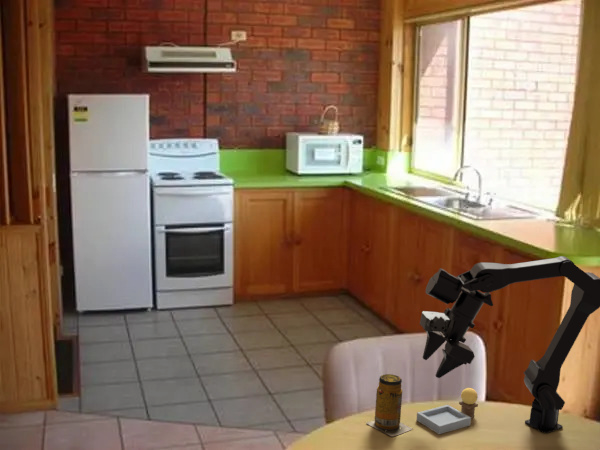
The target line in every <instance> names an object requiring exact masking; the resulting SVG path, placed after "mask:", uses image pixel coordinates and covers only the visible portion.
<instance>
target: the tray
mask: <svg viewBox="0 0 600 450" xmlns="http://www.w3.org/2000/svg"><path fill="white" fill-rule="evenodd" d="M471 420H472V418H471V417H469V416H467V415H466V414H464V413H462V412H461V411H460V410H458V409H456V408H455V407H453V406H451V405H450V404H445V405H440V406H437V407H433V408H430V409H425V410H422V411H419V412H416V421H417V422H419V423H420V424H422V425H423V426H426V427H427V428H428V429H430V430H431V431H434V432H435V433H436V434H438V435H441V434H444V433H448V432H451V431H455V430H459V429H462V428H466V427H469V426H471Z"/></svg>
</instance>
